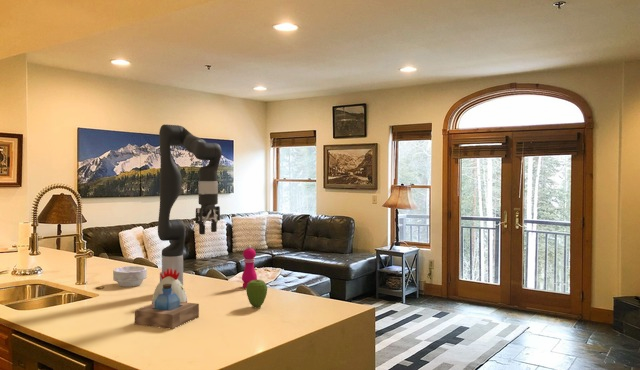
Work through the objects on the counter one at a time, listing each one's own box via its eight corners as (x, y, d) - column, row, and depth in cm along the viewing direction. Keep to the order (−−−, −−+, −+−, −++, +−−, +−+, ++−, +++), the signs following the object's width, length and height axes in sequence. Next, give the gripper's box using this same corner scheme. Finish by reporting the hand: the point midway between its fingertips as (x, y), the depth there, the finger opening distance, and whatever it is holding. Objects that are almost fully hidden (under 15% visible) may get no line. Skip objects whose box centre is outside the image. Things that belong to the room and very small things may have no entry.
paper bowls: (136, 289, 234) (136, 272, 233) (106, 287, 236) (106, 271, 236) (152, 282, 249) (152, 266, 248) (124, 281, 251) (124, 265, 251)
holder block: (134, 324, 178) (134, 310, 178) (163, 312, 193) (163, 300, 193) (172, 329, 172) (172, 314, 172) (198, 317, 188) (198, 303, 187)
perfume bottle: (166, 314, 187) (166, 282, 186) (179, 316, 184) (179, 283, 184) (154, 318, 181) (154, 285, 181) (168, 320, 178) (168, 287, 178)
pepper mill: (238, 287, 237) (238, 245, 237) (247, 284, 243) (247, 243, 243) (251, 289, 234) (251, 246, 233) (259, 286, 240) (260, 244, 240)
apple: (244, 305, 204) (244, 277, 204) (264, 303, 207) (264, 276, 207) (248, 311, 196) (248, 281, 196) (269, 309, 199) (269, 280, 199)
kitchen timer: (177, 310, 197) (176, 272, 196) (145, 308, 200) (145, 271, 199) (193, 301, 210) (192, 266, 210) (163, 300, 213) (162, 265, 213)
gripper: (209, 191, 208) (209, 230, 208) (189, 193, 195) (189, 234, 195) (225, 192, 206) (225, 231, 206) (206, 193, 192) (206, 235, 193)
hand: (208, 233), depth 200 cm, fingers open, 8 cm apart
